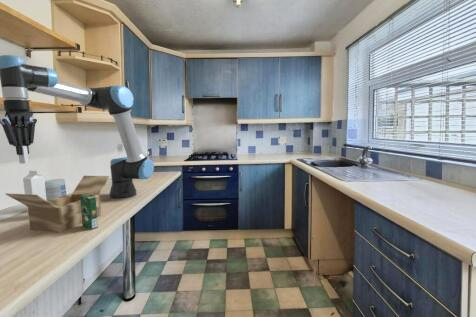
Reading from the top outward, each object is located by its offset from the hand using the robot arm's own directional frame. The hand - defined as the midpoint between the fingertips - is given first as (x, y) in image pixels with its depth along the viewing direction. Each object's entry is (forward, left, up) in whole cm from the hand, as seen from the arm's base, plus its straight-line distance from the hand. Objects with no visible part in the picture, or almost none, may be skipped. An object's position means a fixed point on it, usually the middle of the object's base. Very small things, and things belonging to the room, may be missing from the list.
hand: (24, 163), depth 108 cm
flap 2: (-30, +1, -15) cm, 34 cm away
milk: (-20, -21, -29) cm, 40 cm away
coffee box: (-12, +16, -29) cm, 35 cm away
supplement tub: (-34, -25, -29) cm, 51 cm away
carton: (-16, +1, -28) cm, 32 cm away
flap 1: (-1, +1, -15) cm, 15 cm away
